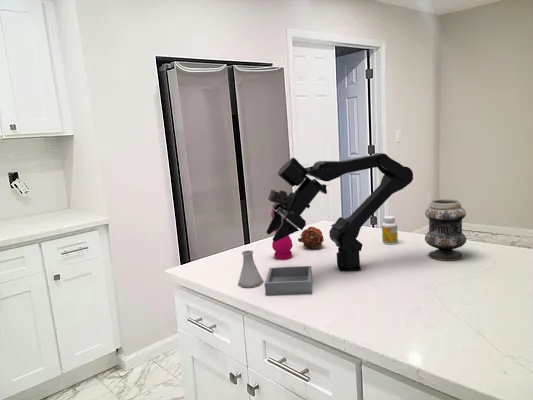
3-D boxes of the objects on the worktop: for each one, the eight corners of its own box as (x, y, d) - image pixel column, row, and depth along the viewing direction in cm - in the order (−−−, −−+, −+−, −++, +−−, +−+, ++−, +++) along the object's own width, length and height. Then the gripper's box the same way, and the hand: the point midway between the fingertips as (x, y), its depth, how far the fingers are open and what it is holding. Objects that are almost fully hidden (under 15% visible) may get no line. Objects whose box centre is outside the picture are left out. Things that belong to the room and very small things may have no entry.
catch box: (312, 276, 119) (311, 265, 119) (311, 293, 107) (310, 281, 106) (270, 278, 121) (269, 267, 120) (265, 295, 109) (264, 283, 108)
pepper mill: (292, 260, 137) (287, 203, 133) (271, 260, 138) (266, 204, 135) (294, 253, 144) (290, 199, 140) (275, 254, 145) (270, 200, 142)
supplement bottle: (379, 242, 148) (378, 217, 147) (392, 239, 150) (391, 214, 148) (388, 245, 143) (387, 219, 142) (400, 243, 145) (399, 217, 143)
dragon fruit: (318, 255, 144) (305, 252, 155) (333, 239, 146) (319, 236, 157) (303, 239, 142) (291, 237, 154) (318, 222, 144) (305, 221, 156)
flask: (249, 277, 123) (246, 247, 122) (267, 281, 119) (264, 249, 117) (233, 285, 118) (230, 253, 116) (251, 290, 113) (248, 256, 112)
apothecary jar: (475, 256, 124) (475, 200, 121) (445, 264, 119) (444, 206, 116) (445, 248, 135) (444, 196, 132) (417, 254, 130) (415, 201, 128)
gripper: (276, 176, 125) (245, 215, 125) (291, 182, 107) (255, 227, 107) (302, 198, 128) (271, 235, 127) (320, 207, 109) (285, 251, 109)
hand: (270, 237), depth 118 cm, fingers open, 9 cm apart
